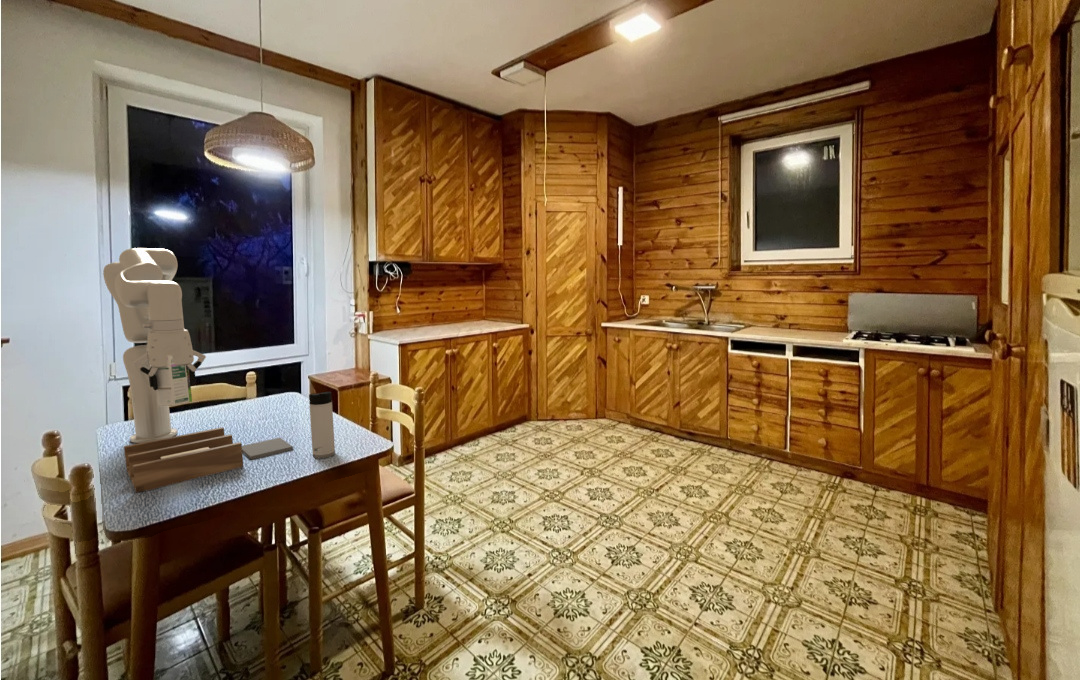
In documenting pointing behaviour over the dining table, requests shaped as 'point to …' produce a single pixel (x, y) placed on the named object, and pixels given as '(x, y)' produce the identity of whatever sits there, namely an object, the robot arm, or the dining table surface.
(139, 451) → the walnut rack
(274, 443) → the rubber mat
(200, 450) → the upper offcut
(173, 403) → the syrup box
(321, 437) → the travel mug
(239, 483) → the dining table surface
